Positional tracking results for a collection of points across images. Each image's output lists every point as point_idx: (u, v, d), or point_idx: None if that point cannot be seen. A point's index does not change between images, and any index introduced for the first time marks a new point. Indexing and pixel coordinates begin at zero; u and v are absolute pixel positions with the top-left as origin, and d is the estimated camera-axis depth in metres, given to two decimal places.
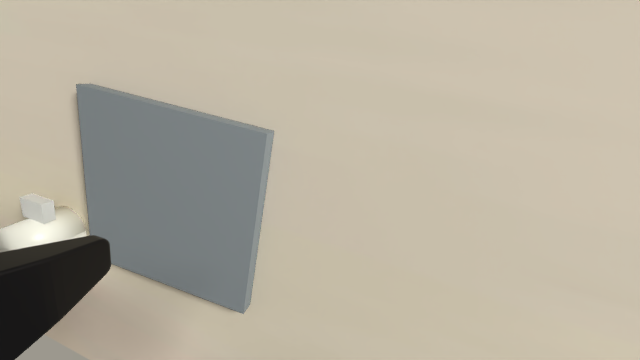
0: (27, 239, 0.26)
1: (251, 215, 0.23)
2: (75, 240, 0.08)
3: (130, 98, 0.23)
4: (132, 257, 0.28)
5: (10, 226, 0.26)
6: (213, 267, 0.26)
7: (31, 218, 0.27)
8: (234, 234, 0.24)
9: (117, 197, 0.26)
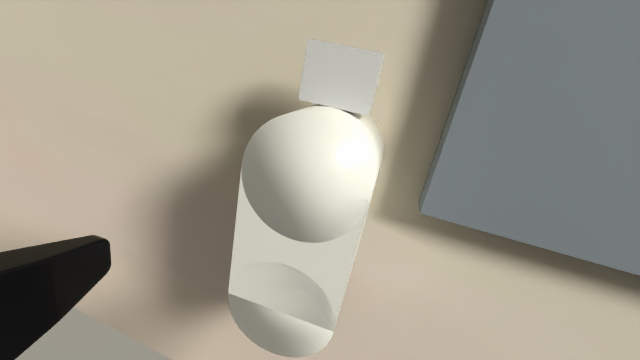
0: (364, 145, 0.09)
1: None
2: (75, 240, 0.08)
3: None
4: (565, 210, 0.11)
5: (306, 110, 0.09)
6: None
7: (326, 103, 0.10)
8: None
9: (609, 29, 0.09)
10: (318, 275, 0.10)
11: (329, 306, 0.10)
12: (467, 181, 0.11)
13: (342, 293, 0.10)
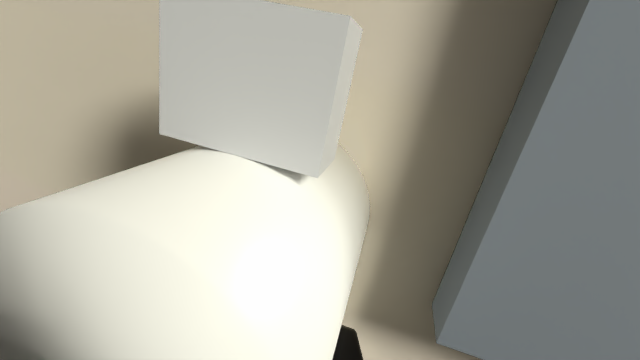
0: (285, 298, 0.03)
1: None
2: None
3: None
4: None
5: (116, 184, 0.03)
6: None
7: (221, 144, 0.04)
8: None
9: None
10: None
11: None
12: (537, 295, 0.06)
13: None
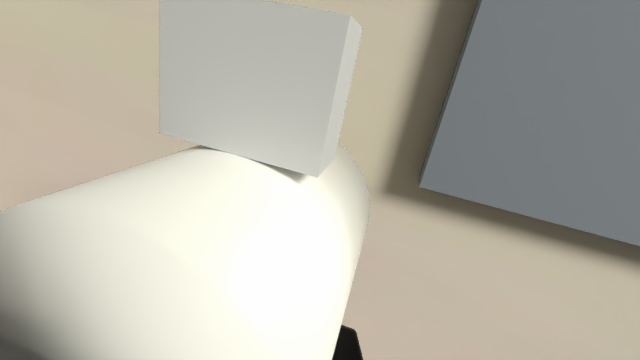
0: (285, 297, 0.03)
1: None
2: None
3: None
4: (531, 182, 0.14)
5: (116, 183, 0.03)
6: None
7: (221, 144, 0.04)
8: None
9: (559, 43, 0.12)
10: None
11: None
12: (456, 159, 0.15)
13: None
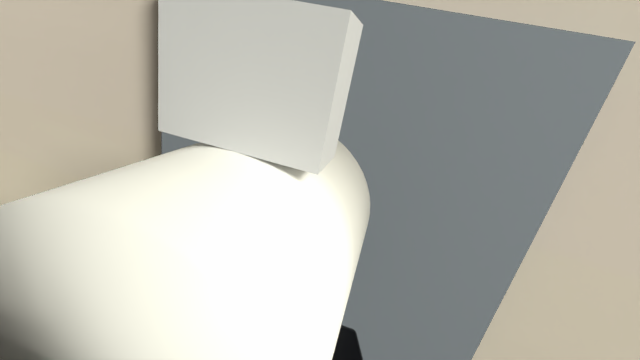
0: (286, 295, 0.03)
1: (526, 228, 0.11)
2: None
3: None
4: None
5: (114, 179, 0.03)
6: (404, 322, 0.14)
7: (220, 141, 0.04)
8: (471, 265, 0.12)
9: None
10: None
11: None
12: None
13: None
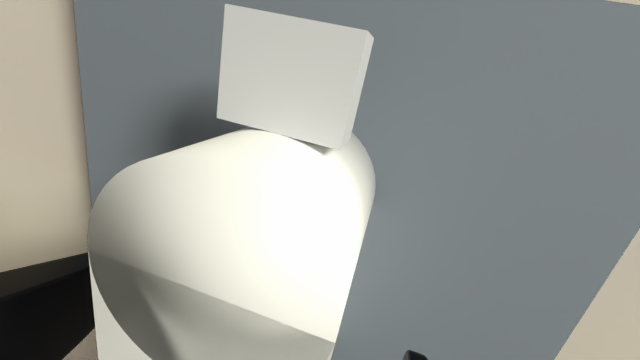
0: (325, 224, 0.04)
1: (576, 294, 0.08)
2: None
3: None
4: None
5: (206, 147, 0.04)
6: None
7: (266, 125, 0.06)
8: (496, 338, 0.09)
9: None
10: None
11: None
12: None
13: None
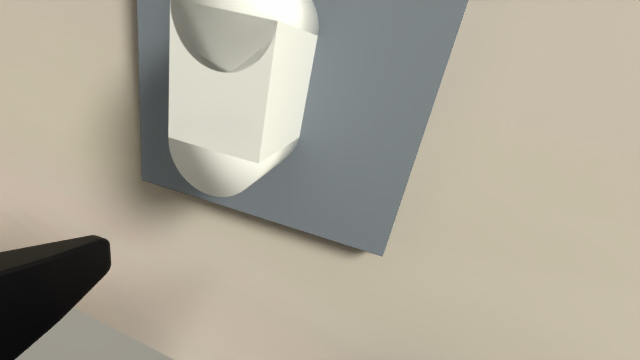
0: None
1: (431, 82, 0.14)
2: (75, 240, 0.08)
3: None
4: None
5: None
6: (343, 183, 0.17)
7: None
8: (392, 121, 0.15)
9: None
10: (242, 105, 0.11)
11: (253, 137, 0.12)
12: (158, 159, 0.19)
13: (262, 122, 0.11)
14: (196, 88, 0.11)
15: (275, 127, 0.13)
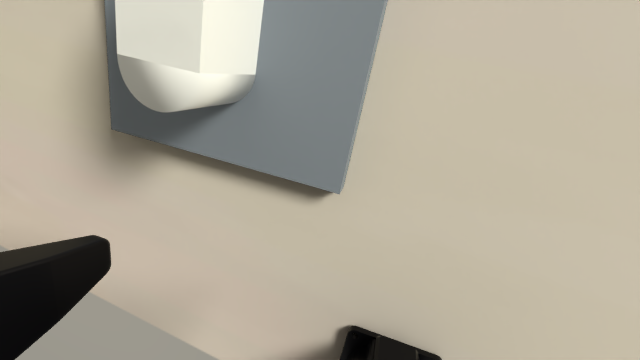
0: None
1: (374, 9, 0.15)
2: (75, 240, 0.08)
3: None
4: (171, 121, 0.19)
5: None
6: (298, 119, 0.17)
7: None
8: (340, 52, 0.15)
9: None
10: (180, 14, 0.12)
11: (193, 45, 0.12)
12: (125, 106, 0.20)
13: (200, 29, 0.12)
14: (139, 0, 0.12)
15: (218, 44, 0.13)
